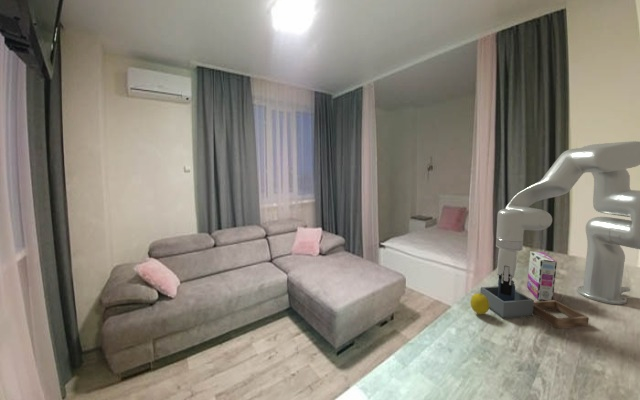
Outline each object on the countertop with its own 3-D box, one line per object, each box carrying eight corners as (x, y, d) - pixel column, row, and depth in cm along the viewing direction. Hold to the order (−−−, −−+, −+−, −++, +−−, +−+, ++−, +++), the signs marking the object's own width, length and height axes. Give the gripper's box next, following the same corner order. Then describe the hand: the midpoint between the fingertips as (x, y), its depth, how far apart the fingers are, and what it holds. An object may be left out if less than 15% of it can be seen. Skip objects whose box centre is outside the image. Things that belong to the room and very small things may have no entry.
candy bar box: (554, 302, 92) (557, 261, 90) (537, 300, 94) (540, 260, 92) (541, 289, 102) (544, 251, 100) (526, 287, 104) (529, 250, 102)
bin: (506, 299, 95) (507, 285, 95) (532, 316, 84) (533, 300, 84) (479, 301, 95) (480, 287, 94) (502, 318, 84) (503, 302, 83)
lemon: (491, 319, 84) (492, 298, 83) (473, 318, 85) (474, 297, 84) (484, 310, 89) (485, 290, 88) (467, 309, 90) (468, 289, 89)
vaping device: (499, 296, 92) (501, 266, 90) (515, 303, 87) (517, 271, 86) (495, 298, 91) (497, 268, 89) (511, 305, 86) (513, 273, 85)
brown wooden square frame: (554, 307, 89) (554, 300, 89) (587, 326, 78) (588, 317, 78) (527, 309, 88) (527, 302, 88) (557, 328, 78) (558, 320, 77)
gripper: (498, 236, 95) (496, 280, 97) (493, 248, 83) (490, 298, 85) (523, 239, 90) (520, 286, 92) (521, 252, 78) (518, 305, 80)
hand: (506, 291), depth 89 cm, fingers closed on vaping device, 3 cm apart
